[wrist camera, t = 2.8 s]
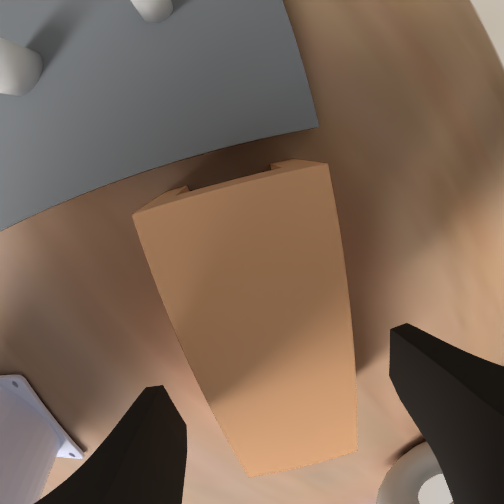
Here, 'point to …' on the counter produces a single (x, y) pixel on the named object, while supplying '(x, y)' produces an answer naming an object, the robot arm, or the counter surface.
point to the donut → (409, 476)
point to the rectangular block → (261, 310)
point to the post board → (136, 90)
